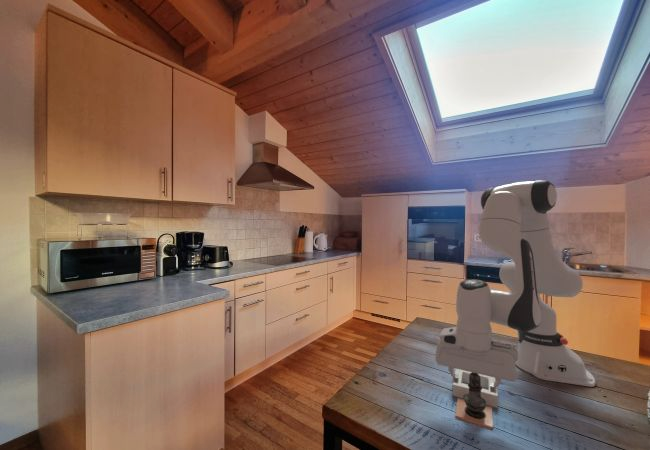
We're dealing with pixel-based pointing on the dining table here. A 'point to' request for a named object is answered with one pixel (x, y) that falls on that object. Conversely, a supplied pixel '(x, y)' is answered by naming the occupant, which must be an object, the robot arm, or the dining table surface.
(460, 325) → the robot arm
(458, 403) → the terracotta tile
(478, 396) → the dark turned stone ornament
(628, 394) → the dining table surface
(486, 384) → the socket block
